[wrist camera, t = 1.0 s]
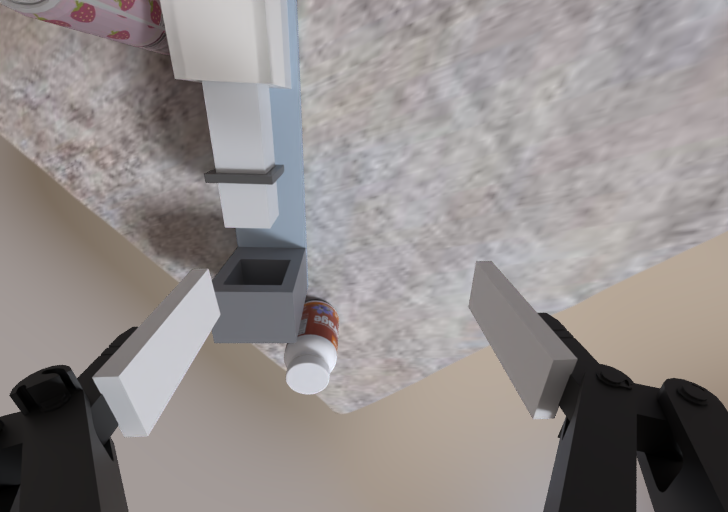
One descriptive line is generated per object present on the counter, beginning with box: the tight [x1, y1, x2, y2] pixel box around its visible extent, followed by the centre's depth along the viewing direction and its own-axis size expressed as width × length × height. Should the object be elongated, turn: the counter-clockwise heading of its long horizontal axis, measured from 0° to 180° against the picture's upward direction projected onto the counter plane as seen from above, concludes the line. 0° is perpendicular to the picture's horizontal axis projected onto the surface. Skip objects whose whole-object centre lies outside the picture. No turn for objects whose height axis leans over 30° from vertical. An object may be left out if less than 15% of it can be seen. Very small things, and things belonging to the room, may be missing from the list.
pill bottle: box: [284, 300, 339, 394], centre depth 39 cm, size 6×6×11 cm
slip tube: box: [202, 81, 284, 229], centre depth 25 cm, size 24×5×5 cm, turn 177°
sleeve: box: [160, 0, 292, 89], centre depth 24 cm, size 9×7×9 cm
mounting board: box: [235, 0, 308, 289], centre depth 34 cm, size 32×8×1 cm, turn 177°
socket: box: [212, 247, 307, 343], centre depth 35 cm, size 6×8×10 cm
